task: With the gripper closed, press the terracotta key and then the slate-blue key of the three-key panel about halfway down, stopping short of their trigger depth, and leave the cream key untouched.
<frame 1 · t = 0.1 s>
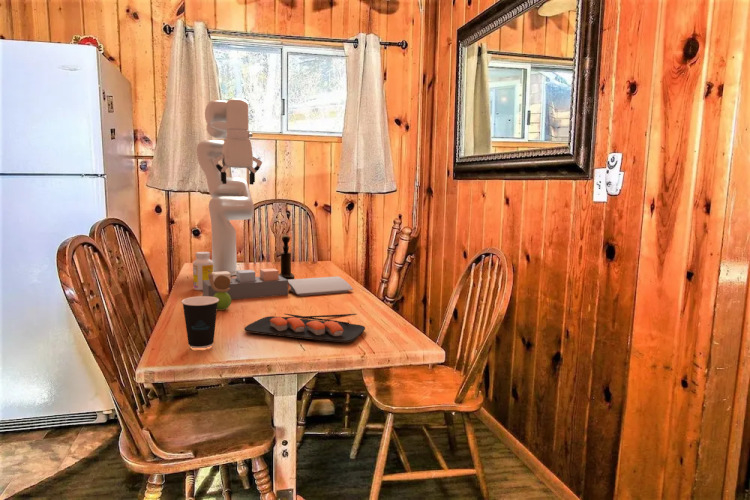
hand: (238, 184, 181), 37 cm above the table, tool pointing down, fingers open, 9 cm apart
slate key: (245, 277, 168), point 6 cm above the table, slide at 0.0 cm
sushi plate: (316, 327, 135), on the table
supplement bottle: (203, 289, 176), on the table
key panel: (245, 294, 169), on the table
terracotta key: (269, 275, 172), point 6 cm above the table, slide at 0.0 cm
cream key: (221, 278, 164), point 6 cm above the table, slide at 0.0 cm
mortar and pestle: (285, 281, 194), on the table
snail figurine: (220, 310, 148), on the table
dixie cup: (201, 348, 114), on the table
book: (317, 292, 179), on the table
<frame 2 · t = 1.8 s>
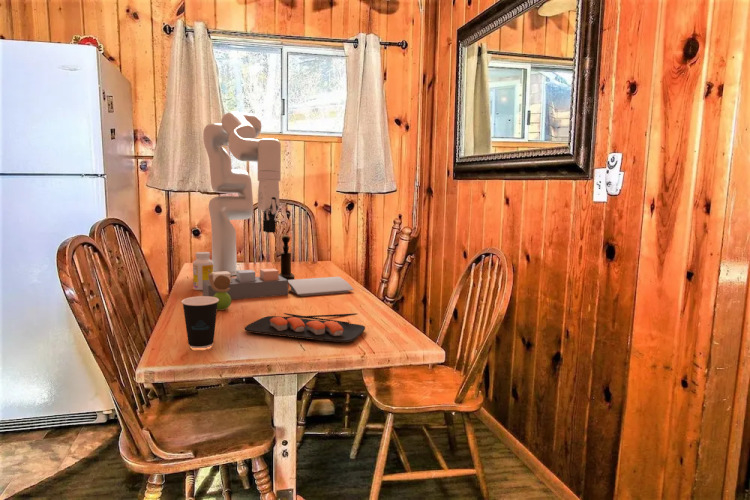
hand: (269, 231, 170), 21 cm above the table, tool pointing down, fingers closed
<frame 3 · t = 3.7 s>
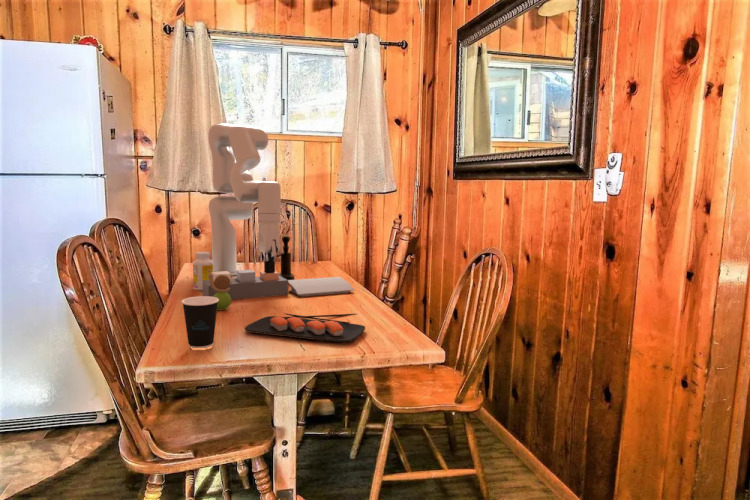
hand: (269, 272, 171), 7 cm above the table, tool pointing down, fingers closed
terracotta key: (269, 278, 172), point 5 cm above the table, slide at 0.8 cm, touching gripper
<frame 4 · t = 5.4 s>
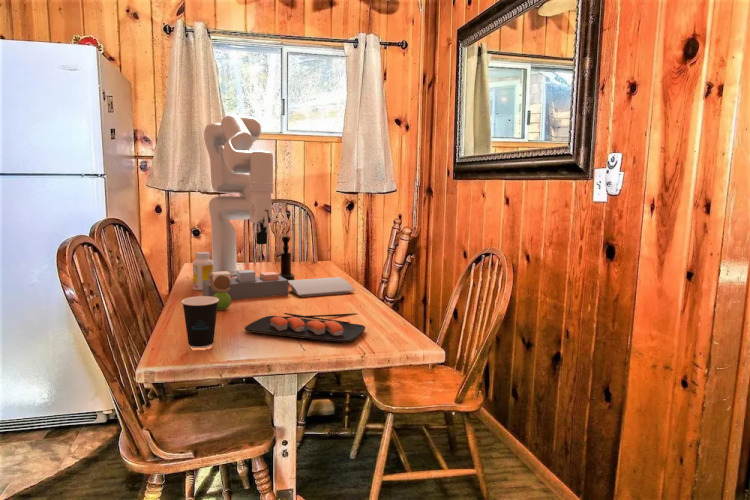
hand: (261, 243, 169), 17 cm above the table, tool pointing down, fingers closed
terracotta key: (269, 279, 172), point 5 cm above the table, slide at 1.2 cm
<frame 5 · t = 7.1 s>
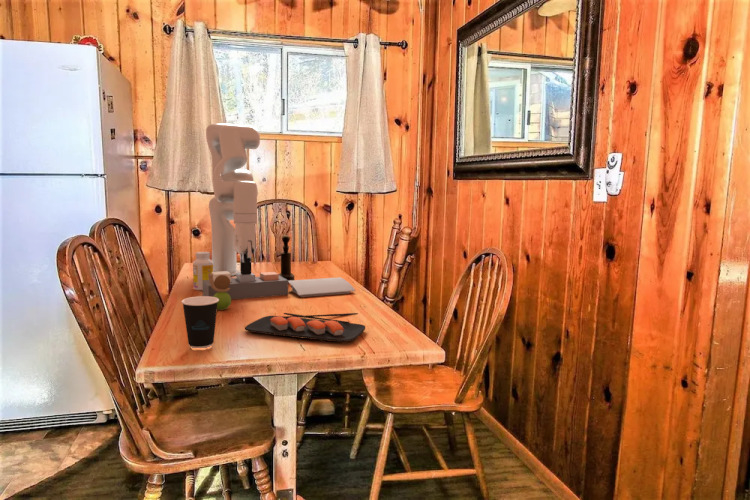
hand: (245, 274, 168), 7 cm above the table, tool pointing down, fingers closed
slate key: (245, 279, 168), point 5 cm above the table, slide at 0.9 cm, touching gripper
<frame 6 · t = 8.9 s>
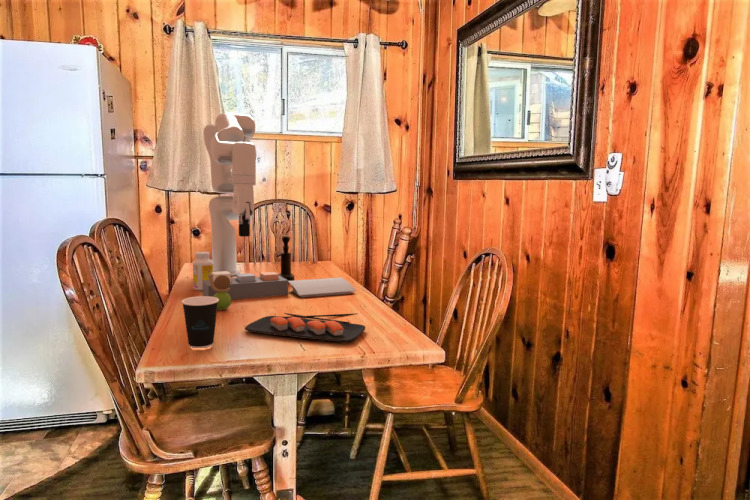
hand: (244, 236, 168), 20 cm above the table, tool pointing down, fingers closed
slate key: (245, 280, 168), point 5 cm above the table, slide at 1.2 cm
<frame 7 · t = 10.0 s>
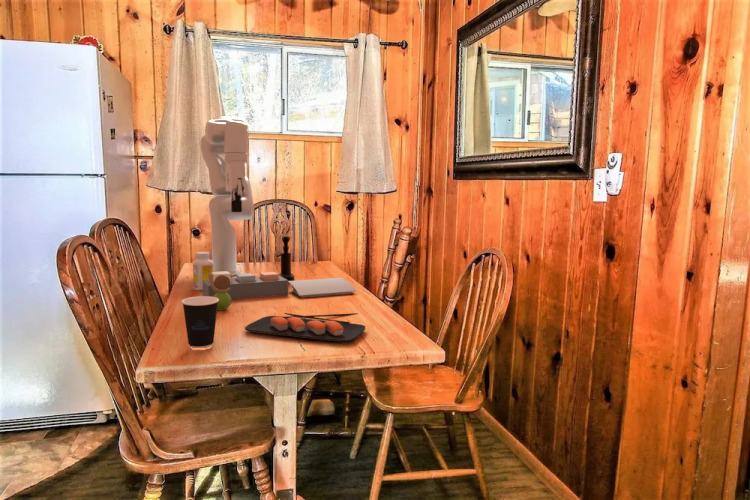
hand: (236, 211, 176), 27 cm above the table, tool pointing down, fingers closed
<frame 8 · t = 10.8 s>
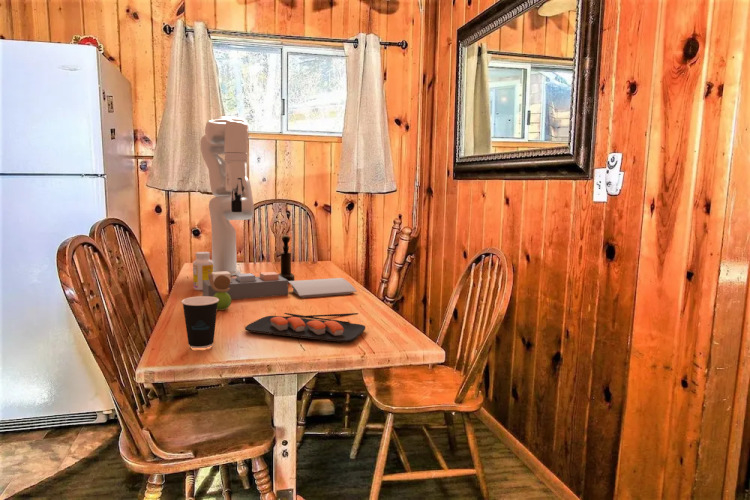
hand: (236, 211, 176), 27 cm above the table, tool pointing down, fingers closed
at the end: terracotta key slide at 1.2 cm; slate key slide at 1.2 cm; cream key slide at 0.0 cm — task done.
